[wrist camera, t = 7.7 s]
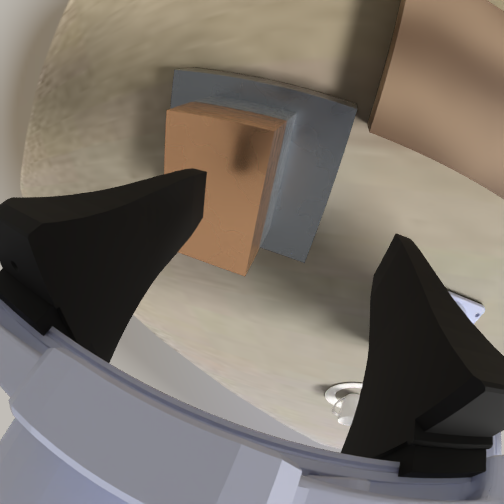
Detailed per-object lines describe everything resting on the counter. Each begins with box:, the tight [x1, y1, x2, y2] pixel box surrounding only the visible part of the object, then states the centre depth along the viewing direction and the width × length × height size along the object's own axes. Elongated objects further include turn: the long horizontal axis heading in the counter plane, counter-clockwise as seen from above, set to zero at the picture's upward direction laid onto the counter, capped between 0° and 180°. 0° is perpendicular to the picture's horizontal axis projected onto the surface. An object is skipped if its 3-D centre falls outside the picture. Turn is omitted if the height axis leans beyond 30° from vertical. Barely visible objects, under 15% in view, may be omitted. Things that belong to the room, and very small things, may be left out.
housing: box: [164, 95, 297, 276], centre depth 16 cm, size 8×5×5 cm, turn 170°
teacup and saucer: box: [325, 383, 363, 426], centre depth 32 cm, size 9×8×4 cm
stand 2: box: [368, 0, 504, 199], centre depth 11 cm, size 11×11×2 cm
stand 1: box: [170, 67, 357, 263], centre depth 19 cm, size 11×11×2 cm
